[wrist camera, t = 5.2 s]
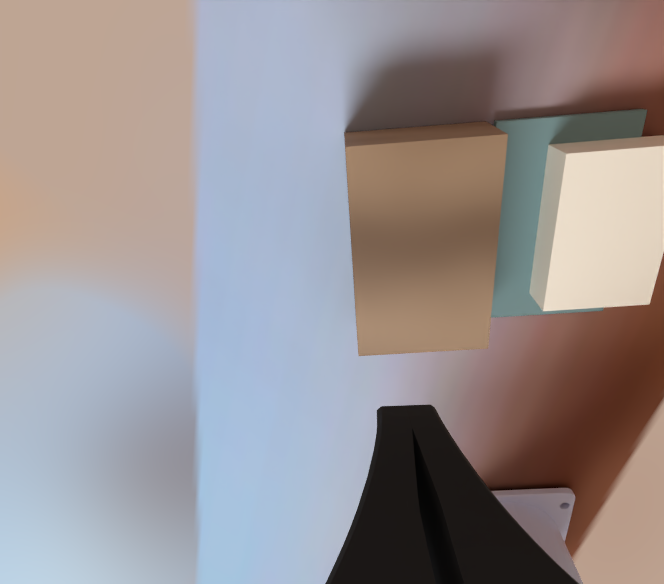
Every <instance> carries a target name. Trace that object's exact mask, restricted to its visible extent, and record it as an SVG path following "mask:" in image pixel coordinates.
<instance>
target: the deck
mask: <svg viewBox="0 0 664 584" xmlns="http://www.w3.org/2000/svg"><path fill="white" fill-rule="evenodd" d="M344 136H345V151H346V167H347V183H348V198H349V214H350V230H351V246H352V261H353V277H354V293H355V308H356V324H357V339H358V353H359V356H367V355H384V354H401V353H418V352H435V351H453V350H470V349H487V348H488V343H489V332H490V322H491V311H492V300H493V290H494V279H495V268H496V257H497V247H498V236H499V225H500V215H501V204H502V193H503V182H504V172H505V161H506V150H507V140H508V134H507V133H505V132H503V131H502V130H500V129H498V128H496V127H495V126H493V125H491V124H489V123H488V122H486V121H483V122H471V123H458V124H446V125H433V126H421V127H408V128H396V129H383V130H371V131H358V132H346V133H344Z"/></svg>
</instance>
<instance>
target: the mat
mask: <svg viewBox="0 0 664 584" xmlns="http://www.w3.org/2000/svg"><path fill="white" fill-rule="evenodd" d="M646 114H647V110H645V109H633V110H621V111H608V112H596V113H583V114H571V115H558V116H546V117H533V118H521V119H508V120H496V121H494V126H495V127H496V128H498V129H500V130H502V131H503V132H505V133H507V134H508V140H507V150H506V161H505V172H504V182H503V193H502V204H501V215H500V225H499V236H498V247H497V257H496V268H495V279H494V290H493V300H492V311H491V318H492V317H508V316H525V315H541V314H557V313H574V312H590V311H603V308H604V307H602V308H587V309H572V310H557V311H542V309H541V308H540V307H539V305H538V304H537V303H536V301H535V300H534V299H533V297H532V296H531V295H530V293H529V291H530V283H531V276H532V268H533V260H534V252H535V245H536V237H537V229H538V221H539V214H540V206H541V198H542V190H543V183H544V175H545V167H546V159H547V152H548V145H549V144H562V143H574V142H586V141H598V140H610V139H623V138H635V137H641V136H642V132H643V127H644V123H645V118H646Z"/></svg>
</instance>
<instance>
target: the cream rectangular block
mask: <svg viewBox="0 0 664 584" xmlns="http://www.w3.org/2000/svg"><path fill="white" fill-rule="evenodd" d="M663 252H664V135H659V136H647V137H635V138H623V139H610V140H598V141H586V142H574V143H562V144H549V145H548V152H547V159H546V167H545V175H544V183H543V190H542V198H541V206H540V214H539V221H538V229H537V237H536V245H535V252H534V260H533V268H532V276H531V283H530V291H529V293H530V295H531V296H532V297H533V299H534V300H535V301H536V303H537V304H538V305H539V307H540V308H541V309H542V311H557V310H572V309H587V308H602V307H618V306H633V305H648V304H650V301H651V297H652V293H653V290H654V286H655V282H656V278H657V275H658V271H659V267H660V264H661V260H662V256H663Z"/></svg>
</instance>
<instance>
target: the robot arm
mask: <svg viewBox="0 0 664 584" xmlns="http://www.w3.org/2000/svg"><path fill="white" fill-rule="evenodd" d="M574 502H575V495H574V493H573V491H572V490H571V489H569V488H545V489H523V490H501V491H490V489H489V488H488V487H487V486H486V484H485V483H484V482H483V480H482V479H481V478H480V477H479V475H478V474H477V472H476V471H475V470H474V468H473V467H472V466H471V464H470V463H469V461H468V460H467V459H466V457H465V456H464V455H463V453H462V452H461V450H460V449H459V447H458V446H457V444H456V443H455V441H454V440H453V438H452V437H451V435H450V433H449V432H448V430H447V429H446V427H445V425H444V424H443V422H442V420H441V418H440V417H439V415H438V413H437V411H436V409H435V408H434V407H433V406H432V405H409V406H382V407H380V408H379V409H378V410H377V434H376V441H375V447H374V452H373V456H372V460H371V465H370V469H369V473H368V477H367V480H366V483H365V487H364V490H363V493H362V496H361V499H360V503H359V506H358V509H357V511H356V514H355V517H354V520H353V522H352V525H351V527H350V530H349V532H348V535H347V537H346V540H345V542H344V545H343V547H342V549H341V551H340V554H339V556H338V558H337V560H336V562H335V565H334V567H333V569H332V571H331V573H330V575H329V577H328V580H327V582H326V584H583V582H582V580H581V578H580V576H579V573H578V571H577V569H576V567H575V565H574V562H573V560H572V558H571V556H570V553H569V551H568V549H567V547H566V545H565V539H566V535H567V531H568V527H569V523H570V519H571V514H572V510H573V506H574Z"/></svg>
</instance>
